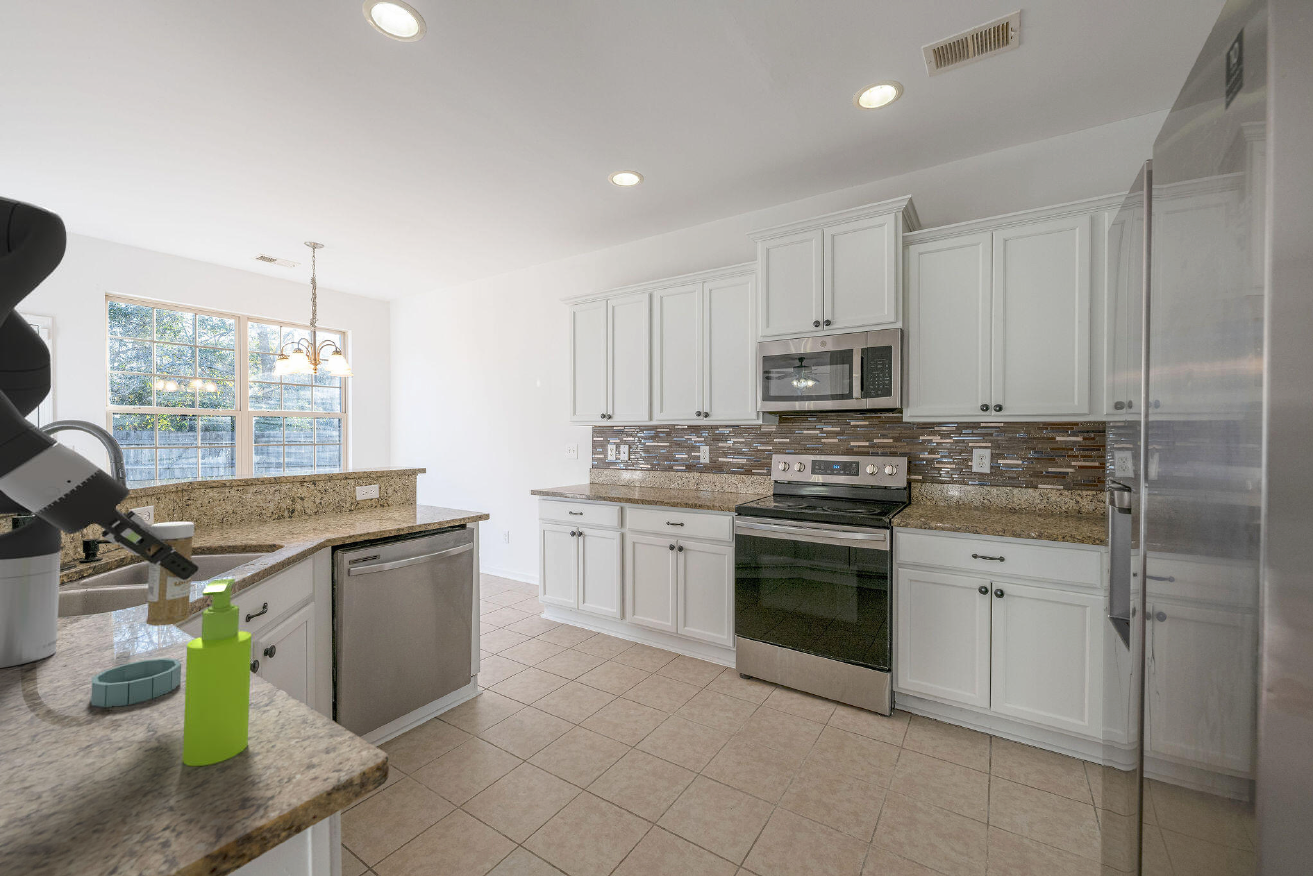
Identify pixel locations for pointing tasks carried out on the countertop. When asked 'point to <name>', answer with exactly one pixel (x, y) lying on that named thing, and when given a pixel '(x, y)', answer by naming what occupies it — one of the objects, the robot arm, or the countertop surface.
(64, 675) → the countertop surface
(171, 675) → the teal bowl
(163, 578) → the sprinkles bottle
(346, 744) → the countertop surface
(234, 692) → the soap dispenser
